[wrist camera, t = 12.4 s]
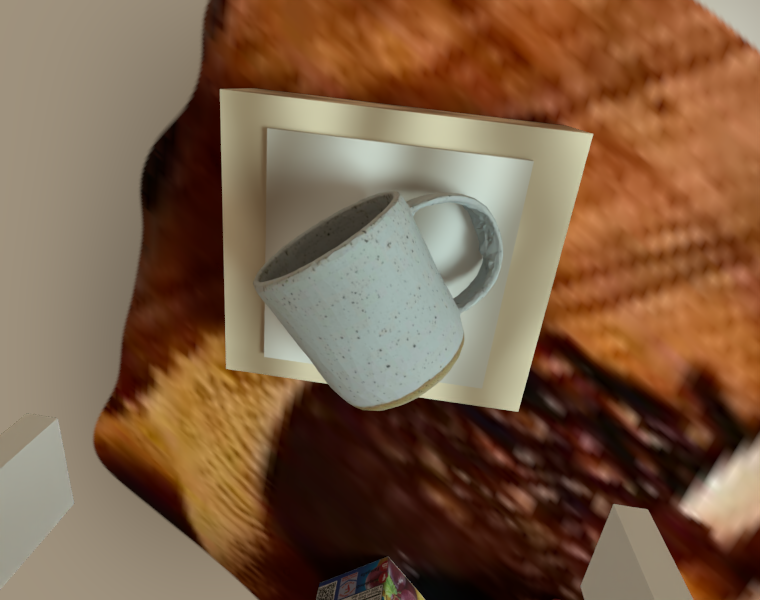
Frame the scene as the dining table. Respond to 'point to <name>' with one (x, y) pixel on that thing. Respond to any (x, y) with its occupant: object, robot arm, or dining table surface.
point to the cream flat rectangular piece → (436, 223)
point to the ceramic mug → (376, 297)
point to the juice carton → (370, 584)
